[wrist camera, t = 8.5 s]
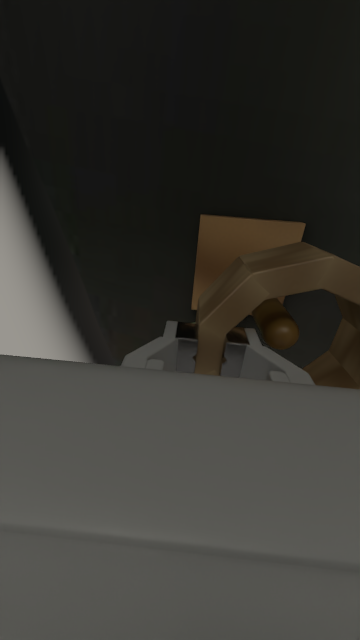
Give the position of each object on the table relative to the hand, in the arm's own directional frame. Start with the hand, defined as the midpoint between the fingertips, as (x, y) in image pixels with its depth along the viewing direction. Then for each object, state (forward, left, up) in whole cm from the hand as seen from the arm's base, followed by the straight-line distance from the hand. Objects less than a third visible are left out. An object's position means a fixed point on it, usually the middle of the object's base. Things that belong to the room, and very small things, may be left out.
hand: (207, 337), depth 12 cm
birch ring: (0, +4, -2) cm, 4 cm away
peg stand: (0, +4, -14) cm, 15 cm away
